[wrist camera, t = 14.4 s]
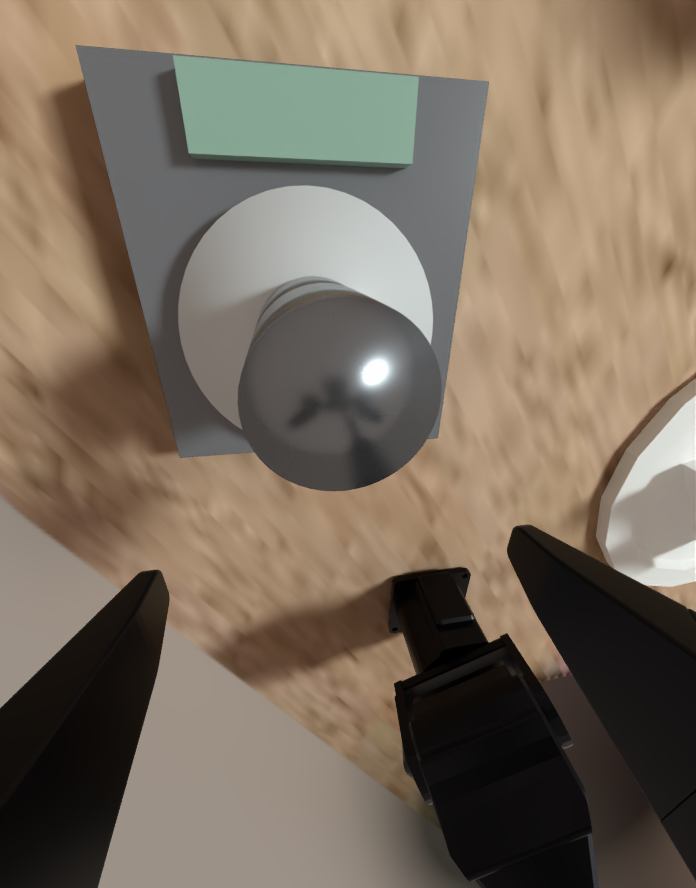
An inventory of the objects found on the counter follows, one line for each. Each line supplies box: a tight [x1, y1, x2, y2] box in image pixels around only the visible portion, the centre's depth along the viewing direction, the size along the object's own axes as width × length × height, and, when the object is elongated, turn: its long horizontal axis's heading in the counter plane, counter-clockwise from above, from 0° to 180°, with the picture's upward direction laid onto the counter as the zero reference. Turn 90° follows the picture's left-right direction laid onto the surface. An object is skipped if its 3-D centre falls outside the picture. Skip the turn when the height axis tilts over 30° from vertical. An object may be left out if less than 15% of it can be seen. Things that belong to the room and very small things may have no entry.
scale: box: [76, 45, 489, 458], centre depth 16 cm, size 15×14×3 cm
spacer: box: [237, 283, 442, 491], centre depth 10 cm, size 5×5×4 cm
